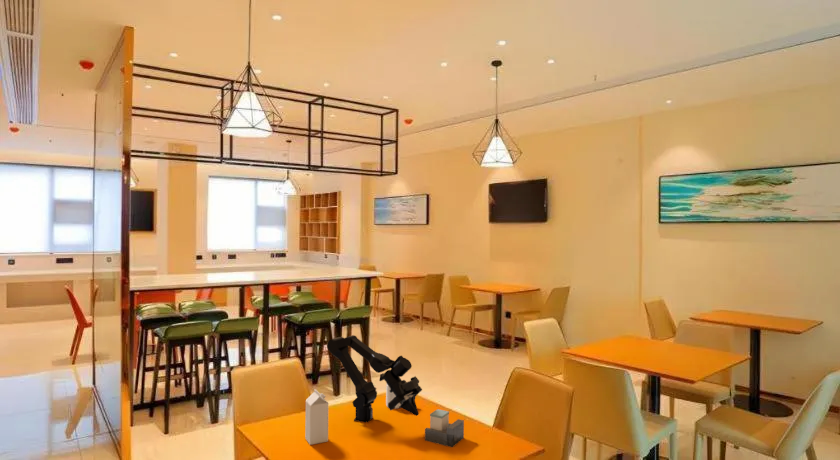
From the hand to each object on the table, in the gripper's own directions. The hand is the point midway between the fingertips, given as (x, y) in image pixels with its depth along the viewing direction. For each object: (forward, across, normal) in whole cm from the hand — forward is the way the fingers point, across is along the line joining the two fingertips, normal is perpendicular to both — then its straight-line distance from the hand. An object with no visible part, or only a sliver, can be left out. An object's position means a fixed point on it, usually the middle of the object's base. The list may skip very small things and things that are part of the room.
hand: (417, 415), depth 202 cm
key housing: (+14, 0, -4) cm, 14 cm away
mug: (-11, +22, +22) cm, 33 cm away
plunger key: (+11, 0, -3) cm, 11 cm away
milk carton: (-16, -27, +26) cm, 41 cm away
